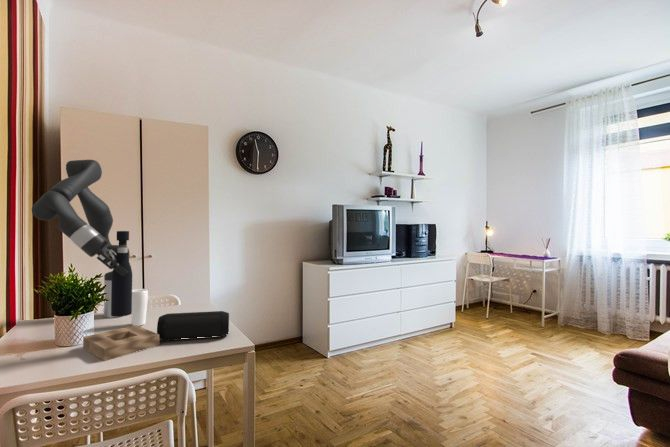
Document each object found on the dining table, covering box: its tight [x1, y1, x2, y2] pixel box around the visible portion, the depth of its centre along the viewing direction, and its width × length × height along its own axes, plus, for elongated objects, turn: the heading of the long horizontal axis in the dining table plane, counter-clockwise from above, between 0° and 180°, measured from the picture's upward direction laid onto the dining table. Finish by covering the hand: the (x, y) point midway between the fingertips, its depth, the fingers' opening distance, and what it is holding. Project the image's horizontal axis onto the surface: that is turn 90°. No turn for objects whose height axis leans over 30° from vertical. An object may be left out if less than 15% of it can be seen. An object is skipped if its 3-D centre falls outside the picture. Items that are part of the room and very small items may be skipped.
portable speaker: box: [156, 310, 230, 341], centre depth 139 cm, size 26×10×10 cm, turn 105°
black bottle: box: [111, 230, 133, 318], centre depth 127 cm, size 6×6×30 cm
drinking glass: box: [130, 288, 149, 326], centre depth 153 cm, size 7×7×15 cm
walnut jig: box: [82, 325, 160, 362], centre depth 128 cm, size 18×18×4 cm
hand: (127, 273), depth 128 cm, fingers closed on black bottle, 6 cm apart
